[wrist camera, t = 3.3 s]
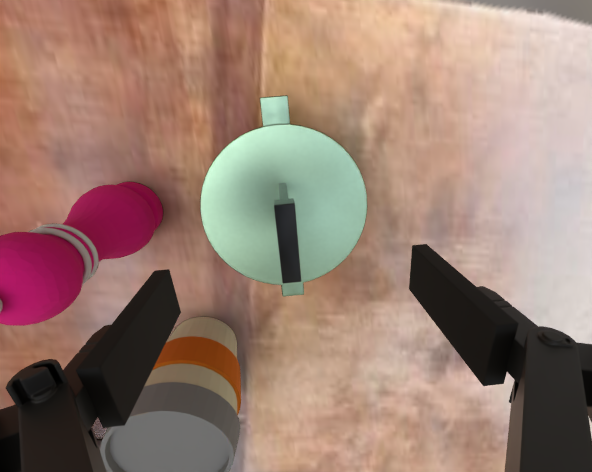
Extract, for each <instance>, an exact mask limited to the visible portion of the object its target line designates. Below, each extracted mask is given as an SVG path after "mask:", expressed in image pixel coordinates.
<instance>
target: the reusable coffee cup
mask: <svg viewBox="0 0 592 472" xmlns="http://www.w3.org/2000/svg"><path fill="white" fill-rule="evenodd" d="M240 405H241V379H240V366H239V363H238V360H237V340H236V336H235V334H234V332H233V331H232V329H231V328H230V327H229V326H228V325H227V324H225V323H223V322H222V321H220V320H217V319H215V318H211V317H195V318H191V319H188V320H186V321H184V322H182V323H181V324H180V325H179V326H178V327H177V328H176V329H175V330H174V332H173V333H172V335H171V336H170V337H169V339H168V340H167V342H166V343H165V345H164V347H163V349H162V351H161V353H160V355H159V357H158V360H157V362H156V364H155V366H154V368H153V370H152V372H151V374H150V376H149V378H148V380H147V382H146V384H145V386H144V388H143V390H142V392H141V394H140V396H139V398H138V400H137V402H136V404H135V406H134V408H133V410H132V412H131V414H130V416H129V418H128V420H127V422H126V424H125V426H116V427H108V428H107V430H106V433H105V435H104V437H103V440H102V442H101V448H100V453H101V456H102V459H103V462H104V465H105V468H106V469H107V471H108V472H229V471H230V469H231V466H232V464H233V461H234V456H235V452H236V447H237V443H238V438H239V433H240V422H239V418H238V416H237V415H238V413H239V410H240Z"/></svg>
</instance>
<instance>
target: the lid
mask: <svg viewBox="0 0 592 472" xmlns="http://www.w3.org/2000/svg"><path fill="white" fill-rule="evenodd" d="M200 211H201V218H202V223H203V227H204V230H205V233H206V235H207V237H208V240H209V242H210V243H211V245H212V247H213V248H214V250H215V251H216V252H217V254H218V255H219V256H220V257H221V258H222V259H223V260H224V261H225V262H226V263H227V264H228V265H229V266H230V267H232V268H233V269H234V270H236V271H237V272H239V273H241V274H242V275H244V276H246V277H249V278H251V279H253V280H256V281H260V282H263V283H268V284H276V285H292V284H299V283H304V282H307V281H311V280H313V279H316V278H318V277H321V276H323V275H324V274H326V273H328V272H330V271H331V270H332V269H334V268H335V267H337V266H338V265H339V264H340V263H341V262H342V261H343V260H344V259H345V258H346V257H347V256H348V255H349V254H350V252H351V251H352V250H353V248H354V247H355V245H356V244H357V242H358V240H359V238H360V236H361V233H362V230H363V228H364V224H365V220H366V215H367V194H366V189H365V184H364V181H363V178H362V175H361V173H360V171H359V169H358V167H357V165H356V163H355V162H354V160H353V159H352V157H351V156H350V155H349V154H348V152H347V151H346V150H345V149H344V148H343V147H342V146H341V145H339V144H338V143H337V142H336V141H335V140H333V139H332V138H330V137H328V136H327V135H325V134H323V133H321V132H319V131H317V130H314V129H312V128H308V127H304V126H301V125H293V124H274V125H268V126H263V127H260V128H257V129H253V130H251V131H249V132H247V133H245V134H243V135H241V136H239V137H238V138H236V139H235V140H233V141H232V142H231V143H230V144H228V145H227V146H226V147H225V148H224V149H223V150H222V151H221V152H220V153H219V155H218V156H217V157H216V158H215V160H214V161H213V163H212V165H211V166H210V168H209V170H208V172H207V174H206V177H205V179H204V183H203V186H202V191H201V198H200Z"/></svg>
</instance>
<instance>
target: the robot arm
mask: <svg viewBox="0 0 592 472" xmlns="http://www.w3.org/2000/svg"><path fill="white" fill-rule="evenodd" d="M409 289H410V291H411V292H412V293H413V295H414V296H415V297H416V299H417V300H418V301H419V303H420V304H421V305H422V306H423V308H424V309H425V310H426V312H427V313H428V314H429V316H430V317H431V318H432V320H433V321H434V322H435V323H436V325H437V326H438V327H439V329H440V330H441V331H442V333H443V334H444V335H445V337H446V338H447V339H448V340H449V342H450V343H451V344H452V346H453V347H454V348H455V350H456V351H457V352H458V354H459V355H460V356H461V357H462V359H463V360H464V361H465V363H466V364H467V365H468V367H469V368H470V369H471V371H472V372H473V373H474V374H475V376H476V377H477V378H478V380H479V381H480V382H481V384H482V385H483V386H487V385H496V384H504V380H505V376H506V372H508V373H509V374H510V375H511V376H512V377H513V378H514V379H515V381H514V385H513V388H512V392H511V396H510V400H509V402H510V403H511V412H510V422H509V433H508V443H507V453H506V464H505V472H592V439H591V432H590V425H589V418H590V420H591V422H592V344H584V343H576V342H575V341H574V340H573V339H572V338H571V337H570V336H568V335H566V334H564V333H563V332H561V331H558V330H555V329H552V328H548V327H538V326H537V325H536V324H534V323H533V322H532V321H531V320H529V319H528V318H527V317H526V316H524V315H523V314H522V313H521V312H519V311H518V310H517V309H516V308H514V307H512V305H511V304H509V303H508V302H507V301H505V300H504V299H503V298H502V297H501V296H500V295H498V294H497V293H496V292H494V291H492V290H490V289H488V288H486V287H484V286H480V287H476V286H475V285H473V284H472V283H471V282H470V281H469V280H468V279H466V278H465V277H464V276H463V275H462V274H461V273H459V272H458V271H457V270H456V269H455V268H454V267H452V266H451V265H450V264H449V263H448V262H447V261H445V260H444V259H443V258H442V257H441V256H440V255H438V254H437V253H436V252H435V251H434V250H433V249H431V248H430V247H429V246H428V245H427V244H423V245H413V246H412V258H411V271H410V285H409ZM180 313H181V311H180V307H179V304H178V300H177V297H176V293H175V289H174V286H173V282H172V278H171V275H170V271H169V270H159V271H154V272H153V273H152V275H151V276H150V277H149V279H148V280H147V281H146V282H145V284H144V285H143V286H142V287H141V289H140V290H139V291H138V292H137V294H136V295H135V296H134V297H133V299H132V300H131V301H130V302H129V304H128V305H127V306H126V307H125V309H124V310H123V311H122V312H121V314H120V315H119V316H118V317H117V319H116V320H115V321H114V322H113V324H112V325H107V326H104V327H103V328H101V329H100V330H99V331H97V332H96V333H94V334H93V335H92V337H91V338H90V339H89V340H88V341H87V342H86V345H84V346H83V347H82V348H81V350H80V351H79V353H77V354H76V355H75V357H74V358H73V359H72V360H71V361H70V363H69V364H68V365H67V366H66V367H65V368H64V370H62V368H61V366H60V364H59V362H58V361H57V360H53V359H48V360H42V361H39V362H37V363H34V364H32V365H30V366H28V367H26V368H24V369H22V370H21V371H20V372H18V373H17V374H16V375H14V376H13V377H12V379H11V380H10V381H9V382H8V384H7V387H6V389H7V391H8V393H9V394H10V396H11V397H12V399H13V401H14V402H15V404H16V405H13V406H10V407H7V408H4V409H1V410H0V472H108V471H107V469H106V468H105V465H104V462H103V459H102V456H101V453H100V448H101V442H102V440H96V437H95V434H94V432H93V430H92V428H91V427H92V425H93V424H94V422H95V420H96V419H97V417H98V418H99V420H100V422H101V424H102V426H103V428H107V427H116V426H125V424H126V422H127V420H128V418H129V416H130V414H131V412H132V410H133V408H134V406H135V404H136V402H137V400H138V398H139V396H140V394H141V392H142V390H143V388H144V386H145V384H146V382H147V380H148V378H149V376H150V374H151V372H152V370H153V368H154V366H155V364H156V362H157V360H158V357H159V355H160V353H161V351H162V349H163V347H164V345H165V343H166V341H167V339H168V337H169V335H170V333H171V331H172V329H173V327H174V325H175V323H176V321H177V319H178V317H179V315H180ZM588 416H589V418H588Z"/></svg>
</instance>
